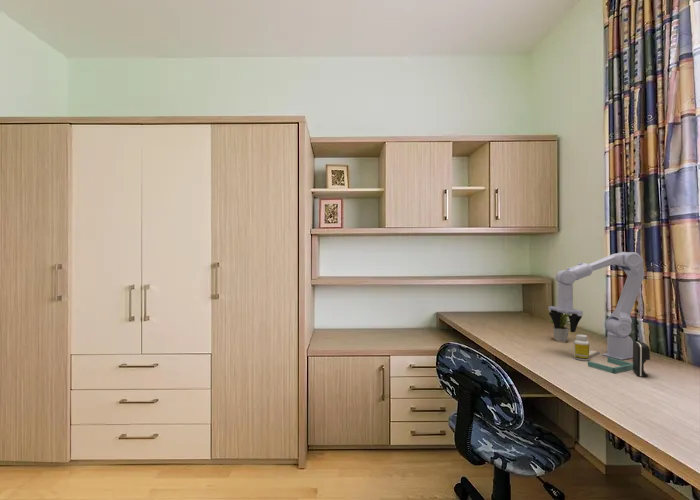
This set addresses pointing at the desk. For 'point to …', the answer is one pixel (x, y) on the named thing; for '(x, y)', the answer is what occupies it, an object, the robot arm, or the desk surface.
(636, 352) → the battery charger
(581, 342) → the supplement bottle
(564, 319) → the house plant
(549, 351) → the desk surface
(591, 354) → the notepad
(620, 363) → the bracket
